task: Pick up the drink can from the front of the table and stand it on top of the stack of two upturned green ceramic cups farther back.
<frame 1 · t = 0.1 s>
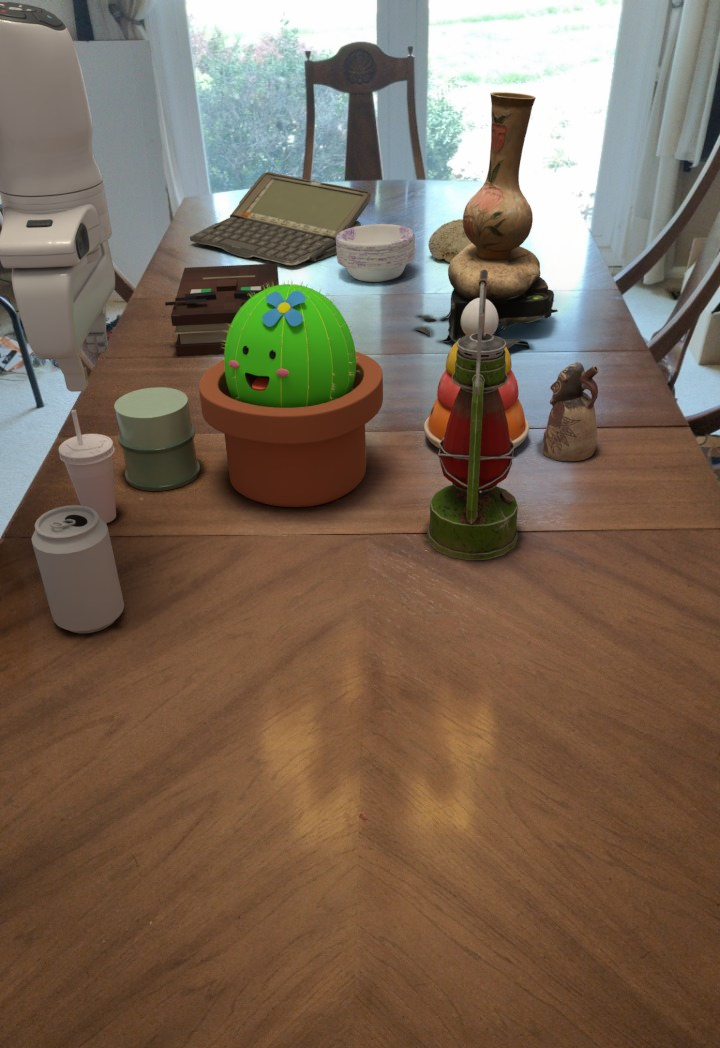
hand: (89, 368, 96), 24 cm above the table, tool pointing down, fingers open, 8 cm apart
stacking toy: (475, 440, 135), on the table
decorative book: (231, 327, 172), on the table
decorative item: (458, 259, 200), on the table
figurine: (568, 451, 132), on the table
smoothie: (101, 518, 121), on the table
vase: (490, 327, 169), on the table
paper bowls: (376, 276, 193), on the table
lantern: (472, 537, 115), on the table
laptop: (281, 244, 212), on the table
potted cactus: (298, 477, 128), on the table
cup stack: (163, 473, 130), on the table
can: (90, 618, 104), on the table
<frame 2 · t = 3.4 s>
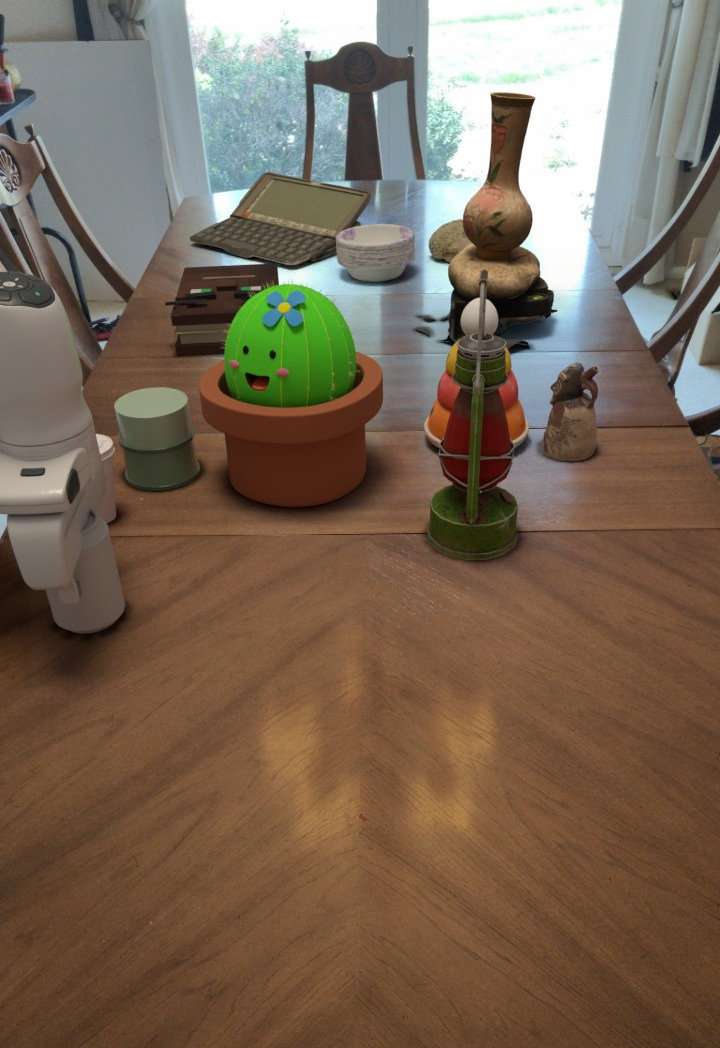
hand: (81, 575, 101), 5 cm above the table, tool pointing down, fingers closed on can, 7 cm apart
can: (91, 618, 104), on the table, touching gripper
everything else where it was.
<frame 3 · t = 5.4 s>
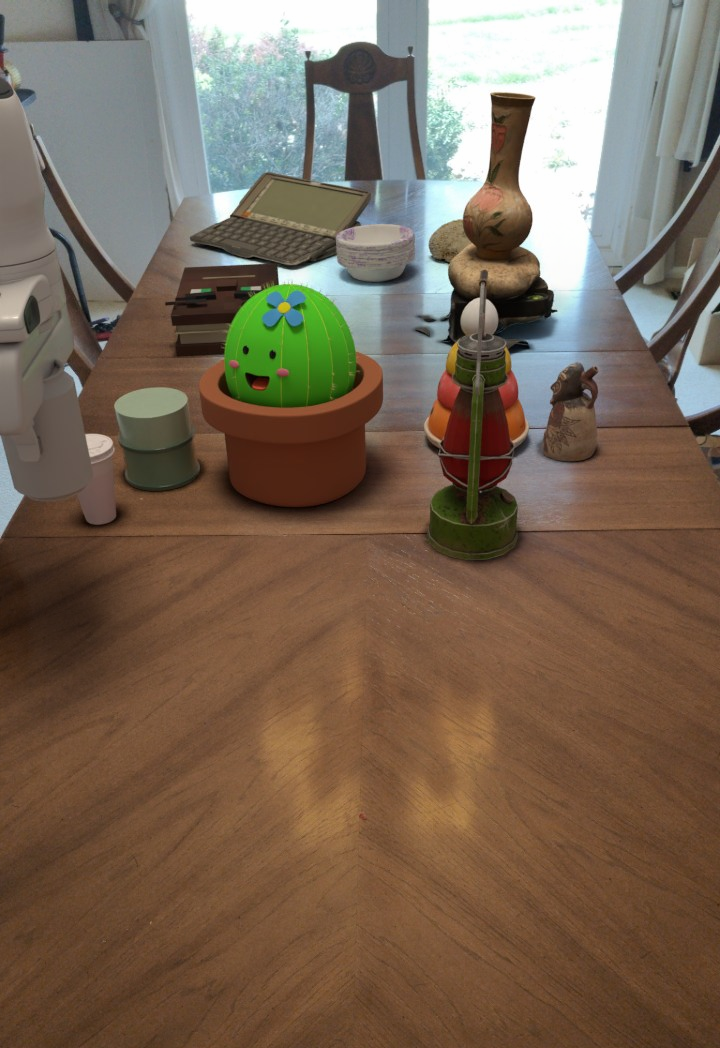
hand: (44, 436, 92), 21 cm above the table, tool pointing down, fingers closed on can, 7 cm apart
can: (55, 488, 95), point 15 cm above the table, touching gripper
everything else where it was.
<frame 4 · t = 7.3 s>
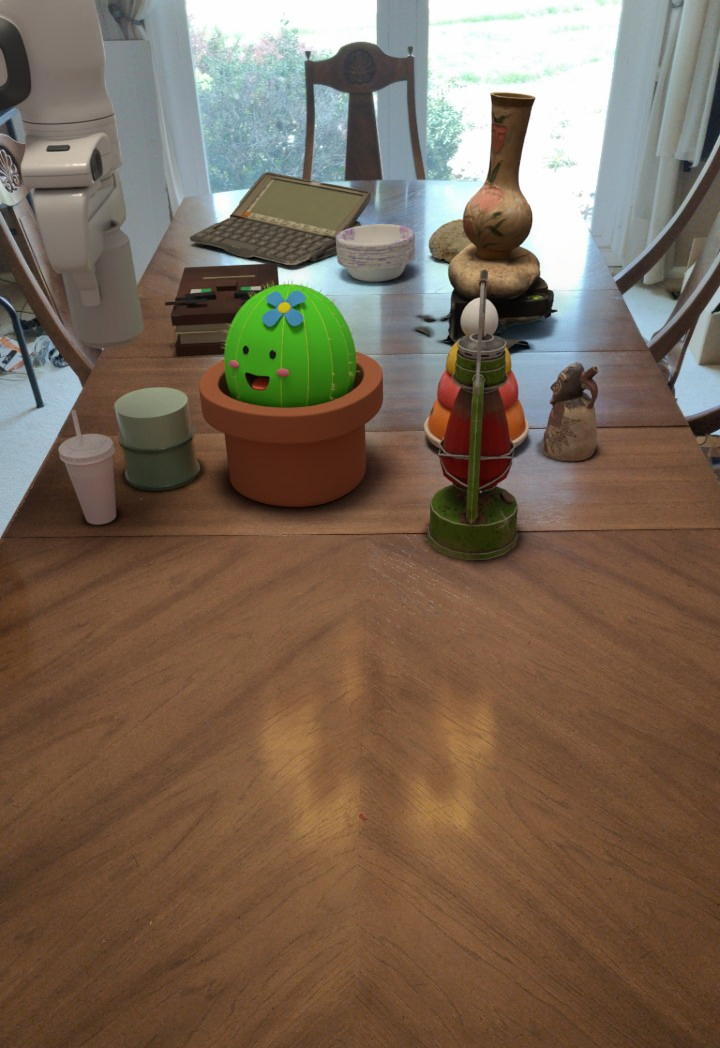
hand: (101, 290, 105), 27 cm above the table, tool pointing down, fingers closed on can, 7 cm apart
can: (111, 340, 108), point 22 cm above the table, touching gripper
everything else where it was.
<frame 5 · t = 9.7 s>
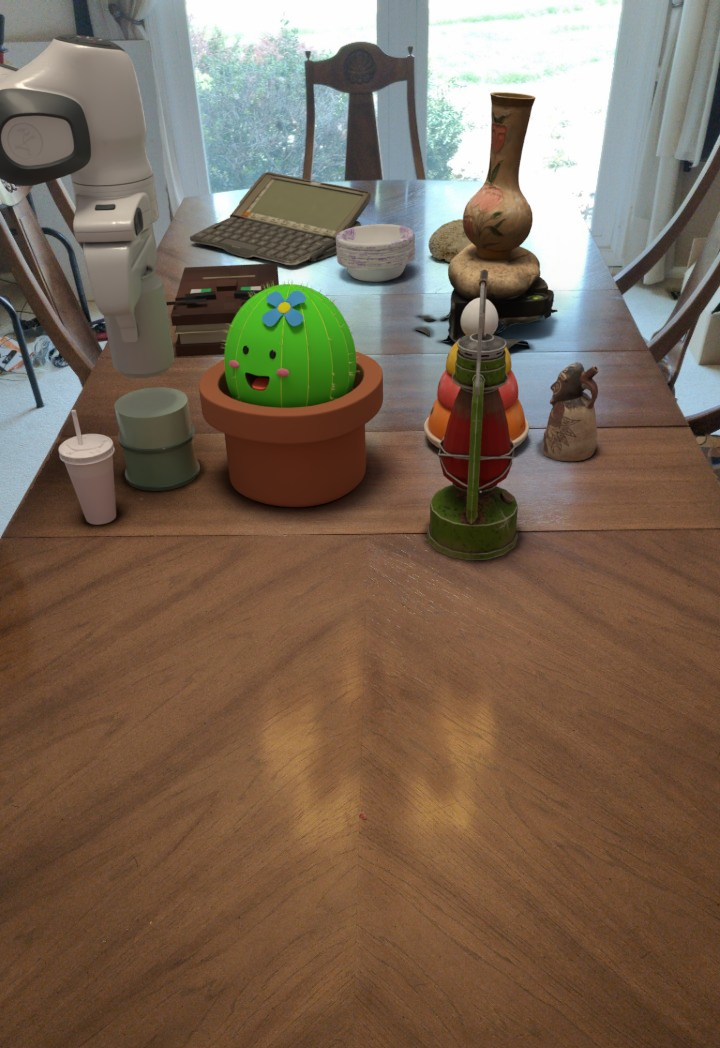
hand: (137, 327, 118), 20 cm above the table, tool pointing down, fingers closed on can, 7 cm apart
can: (145, 370, 121), point 14 cm above the table, touching gripper
everything else where it was.
when the fingers open (15 cm above the table, at t = 11.5 s): can stays where it is, resting on cup stack.
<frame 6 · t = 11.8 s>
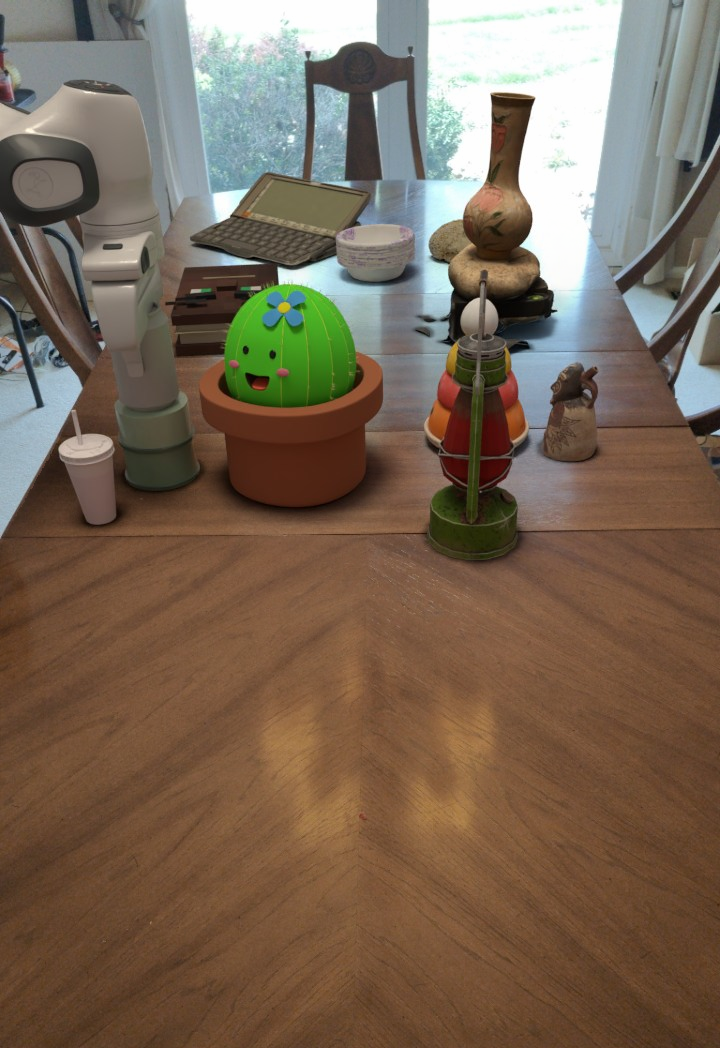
hand: (143, 359, 120), 16 cm above the table, tool pointing down, fingers open, 8 cm apart
can: (150, 403, 124), point 10 cm above the table, touching cup stack
everything else where it was.
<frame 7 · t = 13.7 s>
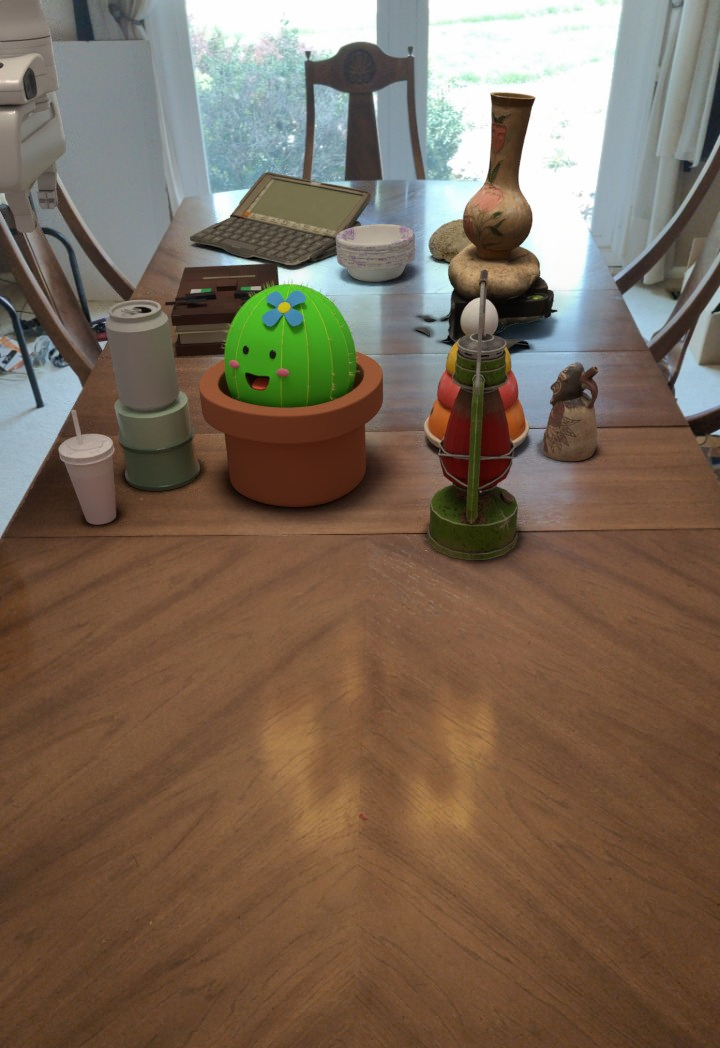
hand: (39, 218, 105), 33 cm above the table, tool pointing down, fingers open, 8 cm apart
nothing on the table moved.
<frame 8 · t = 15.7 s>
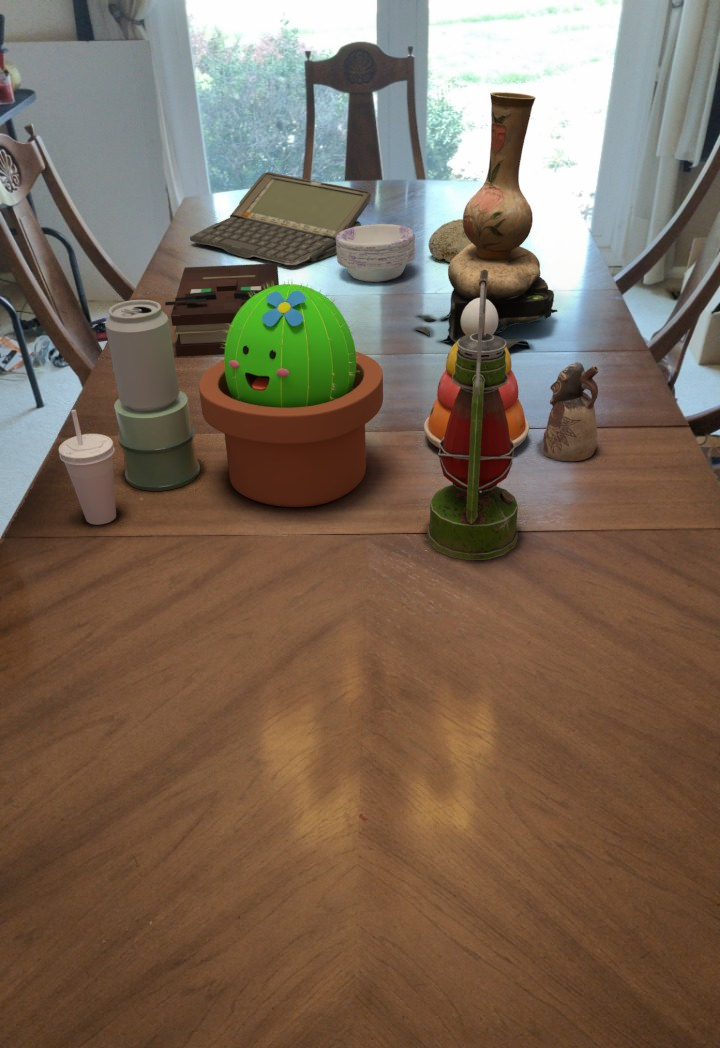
nothing on the table moved.
at the end: can 0.1 cm off-centre on the cup stack, point 9.8 cm above the cup stack's base; can tilted 0°; the gripper is holding nothing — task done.
